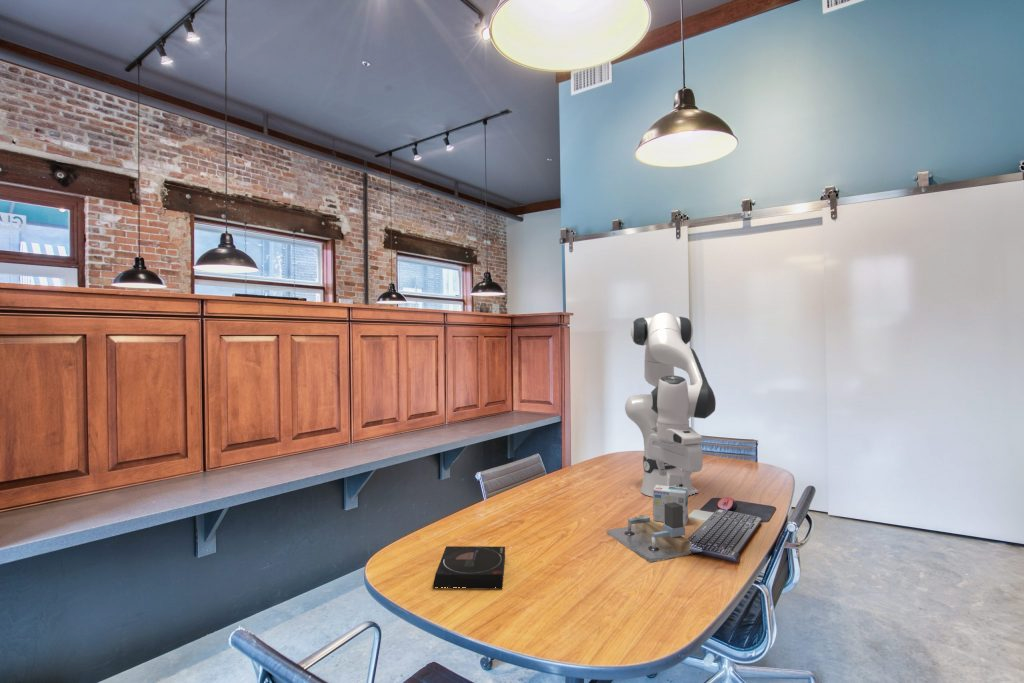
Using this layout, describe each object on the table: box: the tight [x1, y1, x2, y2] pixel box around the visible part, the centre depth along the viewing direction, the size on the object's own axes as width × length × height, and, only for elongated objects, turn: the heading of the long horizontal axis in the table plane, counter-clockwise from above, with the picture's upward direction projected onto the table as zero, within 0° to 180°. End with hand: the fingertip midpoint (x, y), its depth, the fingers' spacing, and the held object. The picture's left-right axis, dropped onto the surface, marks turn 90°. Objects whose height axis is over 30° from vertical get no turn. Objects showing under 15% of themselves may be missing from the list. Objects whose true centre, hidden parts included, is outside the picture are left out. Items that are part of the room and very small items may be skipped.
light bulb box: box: [652, 485, 689, 526], centre depth 166 cm, size 11×7×11 cm, turn 65°
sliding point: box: [652, 502, 686, 549], centre depth 142 cm, size 10×4×12 cm, turn 111°
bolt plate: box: [606, 525, 692, 563], centre depth 148 cm, size 18×22×1 cm
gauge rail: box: [627, 514, 691, 553], centre depth 148 cm, size 9×22×4 cm, turn 21°
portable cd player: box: [432, 545, 506, 589], centre depth 129 cm, size 16×17×4 cm
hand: (673, 479), depth 143 cm, fingers open, 8 cm apart
